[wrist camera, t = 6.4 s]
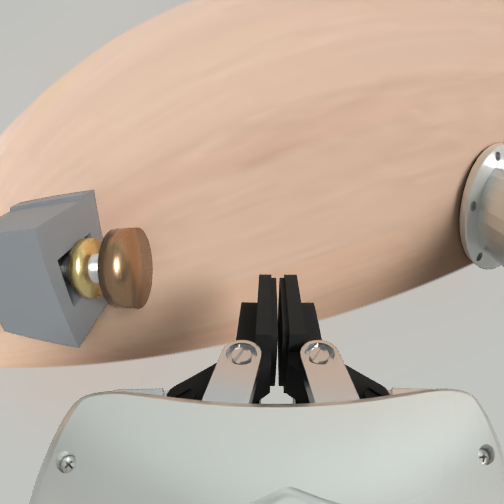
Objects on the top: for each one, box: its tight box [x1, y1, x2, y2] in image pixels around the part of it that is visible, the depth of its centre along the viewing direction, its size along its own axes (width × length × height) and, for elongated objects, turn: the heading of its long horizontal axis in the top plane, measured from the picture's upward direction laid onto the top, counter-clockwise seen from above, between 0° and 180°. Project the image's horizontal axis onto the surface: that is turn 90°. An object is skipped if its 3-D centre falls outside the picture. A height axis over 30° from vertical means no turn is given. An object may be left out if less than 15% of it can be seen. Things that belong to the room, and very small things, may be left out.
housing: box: [0, 190, 108, 348], centre depth 16 cm, size 9×9×7 cm
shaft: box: [58, 228, 153, 309], centre depth 16 cm, size 13×5×5 cm, turn 91°
